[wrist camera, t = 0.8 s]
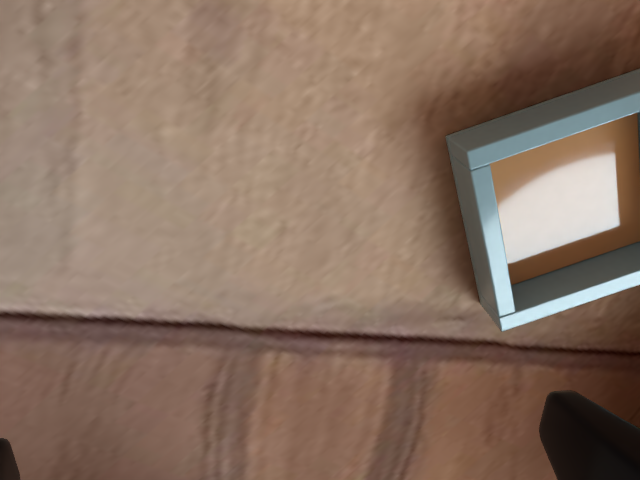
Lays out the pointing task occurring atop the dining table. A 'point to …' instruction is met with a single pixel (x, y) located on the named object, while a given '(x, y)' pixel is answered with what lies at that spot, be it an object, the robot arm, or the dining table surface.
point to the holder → (553, 201)
